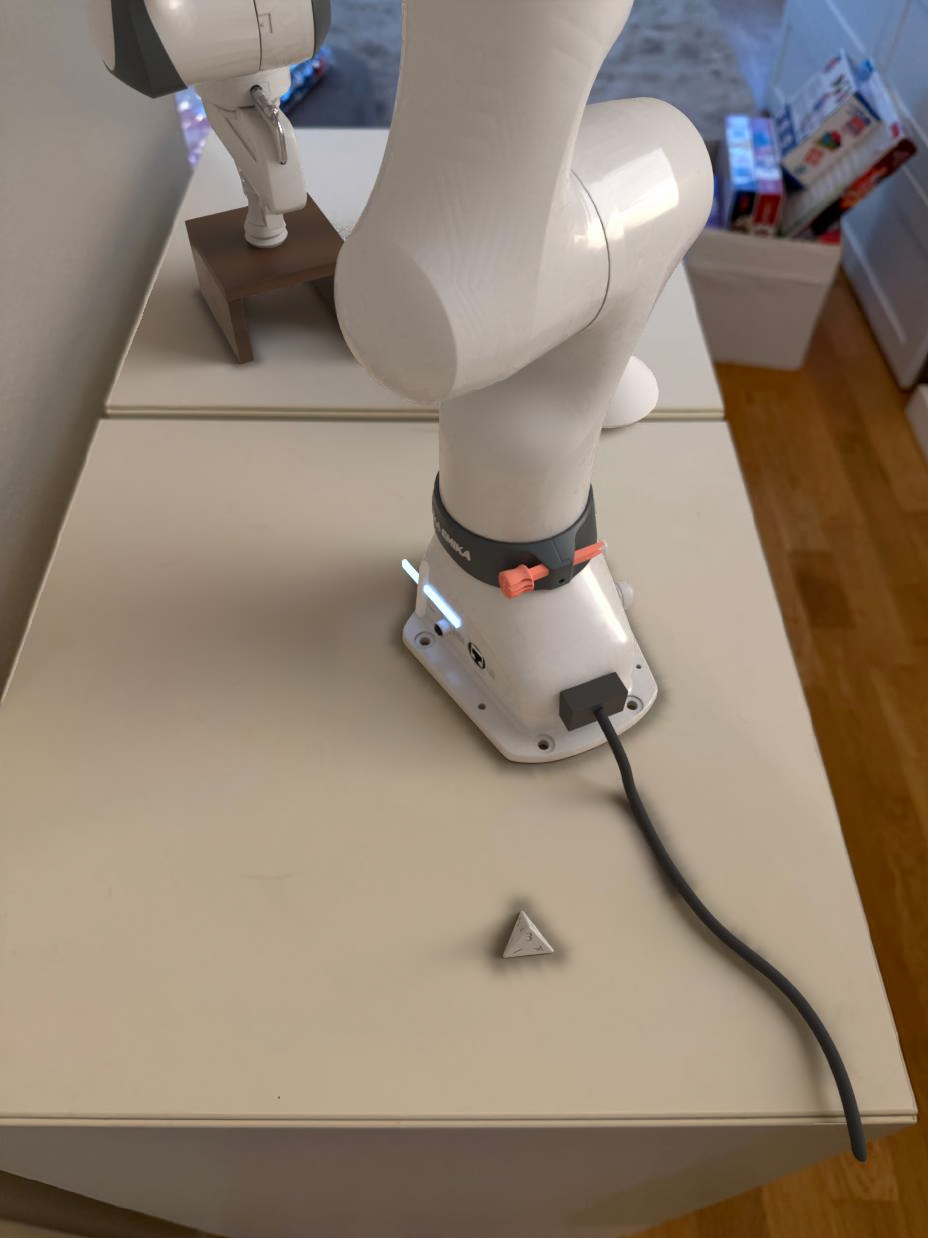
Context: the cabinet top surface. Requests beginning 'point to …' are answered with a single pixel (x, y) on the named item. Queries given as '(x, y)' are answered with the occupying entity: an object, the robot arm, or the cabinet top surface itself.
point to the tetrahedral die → (526, 939)
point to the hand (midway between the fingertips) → (264, 211)
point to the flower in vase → (632, 396)
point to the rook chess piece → (259, 222)
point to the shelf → (259, 264)
